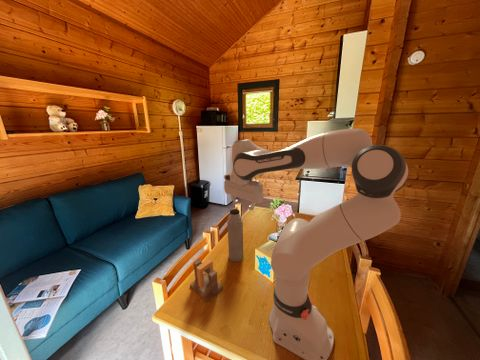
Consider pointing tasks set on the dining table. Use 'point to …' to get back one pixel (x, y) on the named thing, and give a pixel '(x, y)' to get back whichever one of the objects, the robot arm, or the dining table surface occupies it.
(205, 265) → the cord bight
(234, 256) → the thermos bottle
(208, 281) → the hook rail
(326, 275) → the dining table surface
